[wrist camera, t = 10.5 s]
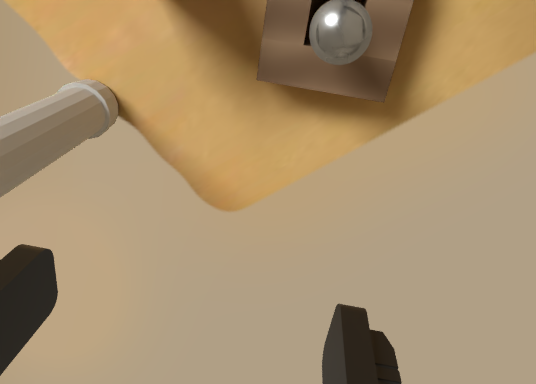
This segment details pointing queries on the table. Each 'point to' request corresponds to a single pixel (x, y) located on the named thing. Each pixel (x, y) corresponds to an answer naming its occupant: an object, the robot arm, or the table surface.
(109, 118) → the pipe
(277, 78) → the socket block
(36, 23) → the table surface
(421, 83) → the table surface
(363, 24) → the pin
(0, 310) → the robot arm
